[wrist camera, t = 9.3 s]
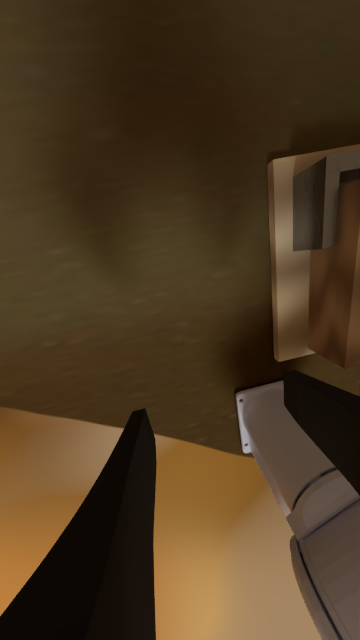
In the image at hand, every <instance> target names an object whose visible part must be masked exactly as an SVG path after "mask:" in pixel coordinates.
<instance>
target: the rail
mask: <svg viewBox="0 0 360 640" xmlns="http://www.w3.org/2000/svg"><path fill="white" fill-rule="evenodd" d="M308 349H310V350H312V351H314V352H315V353H317V354H319V355H321V356H323V357H324V358H326V359H328V360H330V361H332V362H334V363H335V364H337V365H339V366H341V367H343V368H344V369H345V368H349V367H353V366H357V365H360V179H358V180H356V181H353V182H351V183H349V184H346V185H344V186H342V187H339V192H338V207H337V222H336V237H335V246H333V247H328V248H323V249H314V250H310V284H309V318H308Z"/></svg>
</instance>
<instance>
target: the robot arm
mask: <svg viewBox="0 0 360 640" xmlns="http://www.w3.org/2000/svg"><path fill="white" fill-rule="evenodd" d="M235 397H236V405H237V413H238V421H239V429H240V437H241V445H242V450H243V452H244V453H249V452H252V454H253V456H254V458H255V459H256V462H257V464H258V466H259V468H260V470H261V472H262V474H263V476H264V478H265V480H266V481H267V483H268V485H269V487H270V489H271V491H272V493H273V495H274V497H275V499H276V501H277V503H278V505H279V506H280V508H281V510H282V511H283V512H284V514H285V515H286V516H287V517H286V519H287V521H288V523H289V525H290V527H291V529H292V531H293V533H294V536H292V538H291V539H290V551H291V560H292V566H293V570H294V574H295V577H296V581H297V583H298V586H299V589H300V592H301V594H302V597H303V599H304V601H305V604H306V606H307V609H308V611H309V613H310V615H311V618H312V620H313V622H314V624H315V626H316V628H317V630H318V632H319V634H320V636H321V638H322V640H360V396H357V395H354V394H352V393H349V392H347V391H344V390H342V389H339V388H337V387H335V386H332V385H330V384H327V383H325V382H322V381H320V380H318V379H315V378H313V377H310V376H308V375H305V374H303V373H300V372H298V371H295V370H294V371H290V372H286V373H283V380H282V381H279V382H275V383H271V384H267V385H263V386H259V387H255V388H251V389H247V390H244V391H240V392H237V393H236V396H235ZM240 399H241V400H240ZM155 485H156V445H155V437H154V434H153V431H152V428H151V425H150V422H149V418H148V415H147V412H146V409H141V410H137V411H133V412H132V414H131V416H130V418H129V420H128V422H127V424H126V426H125V428H124V430H123V432H122V434H121V436H120V438H119V440H118V442H117V444H116V446H115V448H114V450H113V452H112V454H111V455H110V457H109V459H108V461H107V463H106V464H105V466H104V468H103V470H102V472H101V473H100V475H99V477H98V478H97V480H96V482H95V483H94V485H93V487H92V488H91V490H90V492H89V493H88V495H87V497H86V498H85V500H84V502H83V503H82V504H81V506H80V507H79V509H78V511H77V512H76V514H75V515H74V517H73V518H72V520H71V521H70V523H69V524H68V526H67V527H66V529H65V530H64V531H63V533H62V534H61V536H60V537H59V539H58V540H57V541H56V543H55V544H54V546H53V547H52V549H51V550H50V551H49V553H48V554H47V556H46V557H45V558H44V560H43V561H42V562H41V564H40V565H39V567H38V568H37V569H36V571H35V572H34V573H33V575H32V576H31V577H30V578H29V580H28V581H27V582H26V584H25V585H24V586H23V588H22V589H21V590H20V592H19V593H18V594H17V595H16V597H15V598H14V599H13V601H12V602H11V603H10V605H9V606H8V607H7V609H6V610H5V611H4V612H3V614H2V615H1V616H0V640H156V632H155V598H154V557H153V528H154V507H155Z"/></svg>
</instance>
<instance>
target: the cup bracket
mask: <svg viewBox="0 0 360 640" xmlns="http://www.w3.org/2000/svg"><path fill="white" fill-rule="evenodd" d="M357 179H360V150H356V151H351V152H345V153H340V154H334V155H329V156H326V157H324V158H323V159H321V160H319V161H318V162H316V163H315V164H313V165H312V166H310V167H308V168H307V169H305V170H304V171H302V172H301V173H299V174H297V175H296V176H294V177H293V251H304V250H314V249H323V248H328V247H333V246H335V237H336V222H337V207H338V192H339V183H342V182H347V181H352V180H357Z"/></svg>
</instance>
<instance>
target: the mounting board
mask: <svg viewBox="0 0 360 640" xmlns="http://www.w3.org/2000/svg"><path fill="white" fill-rule="evenodd" d="M356 150H360V144H357V145H351V146H346V147H340V148H335V149H329V150H323V151H318V152H312V153H307V154H301V155H296V156H290V157H285V158H279V159H274V160H272V161H271V162H270V163H269V164H268V165H267V175H268V202H269V229H270V256H271V283H272V310H273V337H274V359H276V360H277V361H278V362H281V361H285V360H289V359H293V358H297V357H301V356H305V355H309V354H313V353H315V352H314V351H312V350H310V349H308V318H309V284H310V250H304V251H293V177H294V176H296V175H297V174H299V173H301V172H302V171H304V170H305V169H307V168H308V167H310V166H312V165H313V164H315V163H316V162H318V161H319V160H321V159H323V158H324V157H326V156H329V155H334V154H340V153H345V152H351V151H356ZM357 180H358V179H357ZM353 181H356V180H352V181H347V182H342V183H339V187H342V186H344V185H346V184H349V183H351V182H353Z"/></svg>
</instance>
